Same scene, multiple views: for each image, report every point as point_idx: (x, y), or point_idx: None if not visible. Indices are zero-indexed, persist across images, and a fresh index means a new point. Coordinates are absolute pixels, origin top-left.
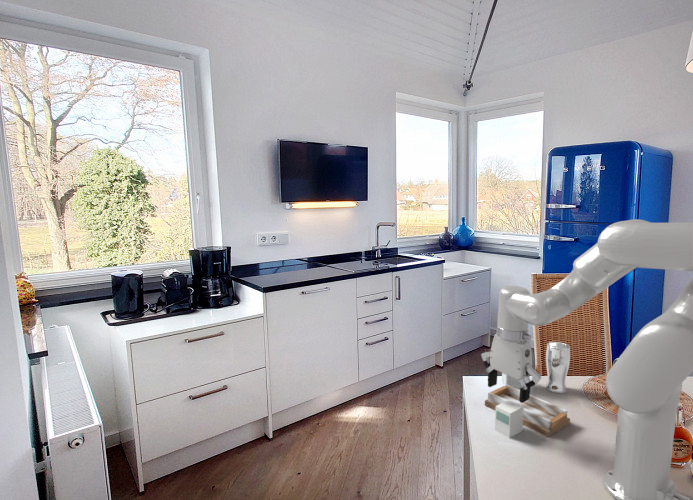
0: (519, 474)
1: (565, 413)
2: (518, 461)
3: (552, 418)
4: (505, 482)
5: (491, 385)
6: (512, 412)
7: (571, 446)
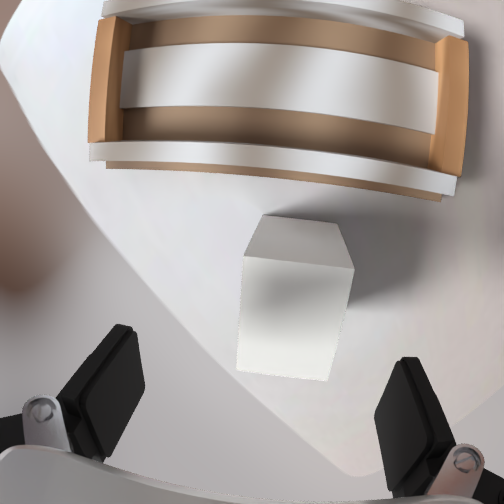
0: None
1: (462, 42)
2: None
3: (447, 133)
4: None
5: (140, 384)
6: (331, 366)
7: (499, 194)
